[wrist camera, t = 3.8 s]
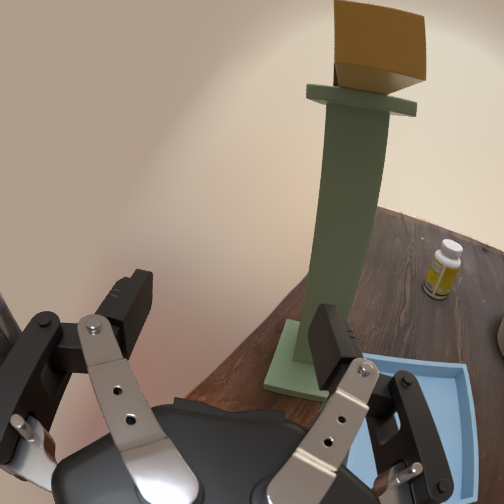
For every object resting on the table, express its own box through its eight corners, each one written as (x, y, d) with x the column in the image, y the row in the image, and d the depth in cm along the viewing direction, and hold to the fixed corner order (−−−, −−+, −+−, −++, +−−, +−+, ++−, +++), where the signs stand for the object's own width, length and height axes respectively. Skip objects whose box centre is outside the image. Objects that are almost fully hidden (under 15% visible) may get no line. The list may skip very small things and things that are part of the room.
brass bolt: (311, 60, 7) (311, -18, 5) (334, 96, 23) (335, 67, 21) (445, 87, 6) (441, 6, 4) (376, 103, 22) (378, 74, 20)
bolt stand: (262, 389, 31) (282, 82, 14) (285, 325, 41) (307, 93, 24) (340, 405, 28) (438, 108, 12) (349, 338, 38) (401, 108, 22)
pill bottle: (449, 290, 47) (467, 246, 41) (443, 304, 43) (464, 257, 37) (426, 279, 51) (442, 234, 45) (419, 291, 47) (437, 243, 41)
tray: (325, 516, 16) (334, 515, 14) (354, 365, 33) (360, 352, 32) (461, 507, 11) (477, 500, 9) (456, 376, 29) (466, 363, 27)
